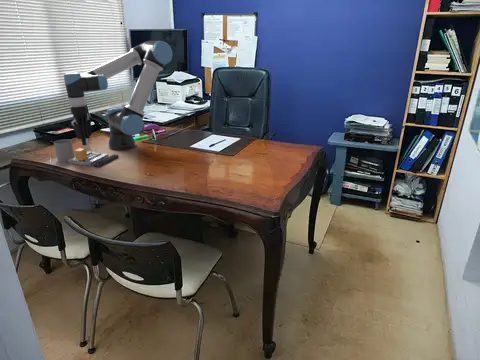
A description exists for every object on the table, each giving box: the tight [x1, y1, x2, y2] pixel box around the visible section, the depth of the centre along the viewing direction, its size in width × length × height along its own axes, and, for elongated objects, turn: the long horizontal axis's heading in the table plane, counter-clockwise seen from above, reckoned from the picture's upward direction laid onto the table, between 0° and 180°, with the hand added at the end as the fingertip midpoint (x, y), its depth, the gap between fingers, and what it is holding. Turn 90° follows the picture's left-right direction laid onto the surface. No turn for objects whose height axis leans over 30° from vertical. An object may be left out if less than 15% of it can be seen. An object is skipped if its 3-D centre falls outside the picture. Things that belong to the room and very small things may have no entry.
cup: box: [53, 138, 75, 163], centre depth 181 cm, size 8×8×10 cm
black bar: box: [93, 153, 119, 168], centre depth 179 cm, size 17×3×2 cm, turn 163°
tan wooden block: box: [73, 147, 88, 161], centre depth 176 cm, size 4×4×5 cm
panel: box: [67, 151, 110, 167], centre depth 181 cm, size 14×14×3 cm
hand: (87, 150), depth 179 cm, fingers closed
